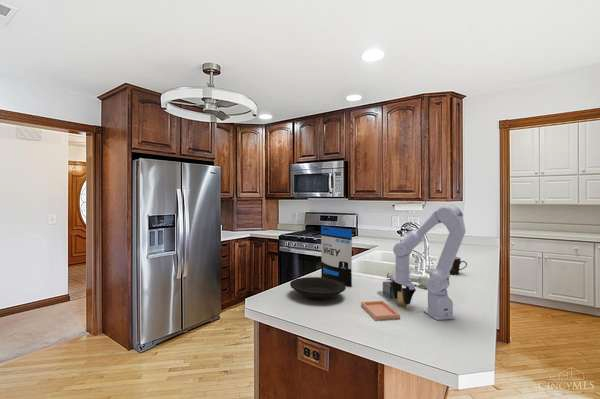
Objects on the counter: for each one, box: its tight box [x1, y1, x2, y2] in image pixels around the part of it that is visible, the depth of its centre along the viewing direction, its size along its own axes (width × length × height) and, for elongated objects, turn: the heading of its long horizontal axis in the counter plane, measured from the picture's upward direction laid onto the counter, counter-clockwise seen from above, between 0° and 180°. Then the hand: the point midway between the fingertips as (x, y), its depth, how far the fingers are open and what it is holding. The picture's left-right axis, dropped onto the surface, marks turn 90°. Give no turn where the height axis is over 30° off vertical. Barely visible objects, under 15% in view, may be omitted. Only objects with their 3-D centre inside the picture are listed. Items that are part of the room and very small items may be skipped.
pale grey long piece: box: [386, 272, 430, 290], centre depth 168 cm, size 5×7×25 cm
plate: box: [289, 276, 347, 301], centre depth 148 cm, size 28×24×6 cm
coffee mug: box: [450, 256, 468, 276], centre depth 187 cm, size 12×9×10 cm
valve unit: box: [376, 280, 403, 302], centre depth 148 cm, size 12×10×6 cm
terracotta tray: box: [360, 300, 401, 321], centre depth 128 cm, size 16×10×2 cm, turn 9°
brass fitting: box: [396, 290, 408, 308], centre depth 135 cm, size 4×4×6 cm
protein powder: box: [320, 225, 353, 288], centre depth 172 cm, size 10×24×30 cm, turn 37°
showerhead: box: [424, 266, 436, 278], centre depth 172 cm, size 9×7×10 cm
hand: (402, 301), depth 135 cm, fingers open, 7 cm apart
